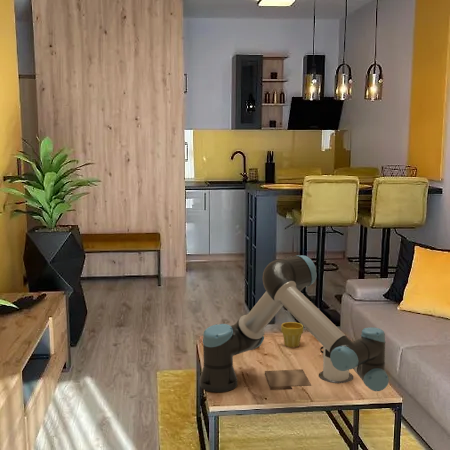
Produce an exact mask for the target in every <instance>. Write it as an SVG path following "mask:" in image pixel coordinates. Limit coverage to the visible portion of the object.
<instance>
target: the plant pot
mask: <svg viewBox="0 0 450 450" xmlns="http://www.w3.org/2000/svg"><path fill="white" fill-rule="evenodd" d="M280 332H281V333H282V336H283V342H284V346H286V347H288V348H298V347H299V346H300V343H301V338H302V334H303V333H304V326H303V325H302V324H301V323H300V322H296V321H289V322H288V321H287V322H283V323H281V327H280Z"/></svg>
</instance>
